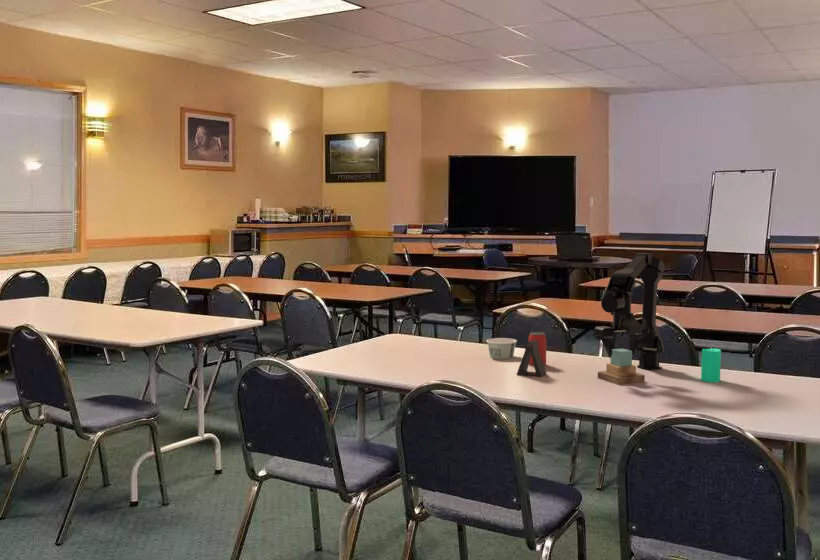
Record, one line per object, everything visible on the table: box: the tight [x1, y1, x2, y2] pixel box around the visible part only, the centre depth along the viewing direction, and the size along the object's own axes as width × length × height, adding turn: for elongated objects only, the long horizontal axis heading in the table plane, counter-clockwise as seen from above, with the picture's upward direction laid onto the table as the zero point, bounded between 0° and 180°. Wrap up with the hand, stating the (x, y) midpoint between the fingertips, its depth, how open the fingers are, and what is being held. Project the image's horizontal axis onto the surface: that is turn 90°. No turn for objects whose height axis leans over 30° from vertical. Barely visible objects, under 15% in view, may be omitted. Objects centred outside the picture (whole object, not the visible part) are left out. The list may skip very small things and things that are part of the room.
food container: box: [485, 337, 518, 360], centre depth 311 cm, size 12×12×6 cm
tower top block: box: [605, 362, 637, 376], centre depth 267 cm, size 7×7×3 cm
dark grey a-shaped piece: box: [516, 340, 547, 378], centre depth 277 cm, size 9×6×12 cm, turn 63°
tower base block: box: [597, 370, 646, 386], centre depth 268 cm, size 11×11×3 cm
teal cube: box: [609, 348, 633, 367], centre depth 267 cm, size 5×5×5 cm
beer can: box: [527, 331, 547, 367], centre depth 294 cm, size 7×7×12 cm
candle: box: [700, 344, 722, 383], centre depth 265 cm, size 6×6×12 cm
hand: (621, 355), depth 267 cm, fingers open, 9 cm apart
